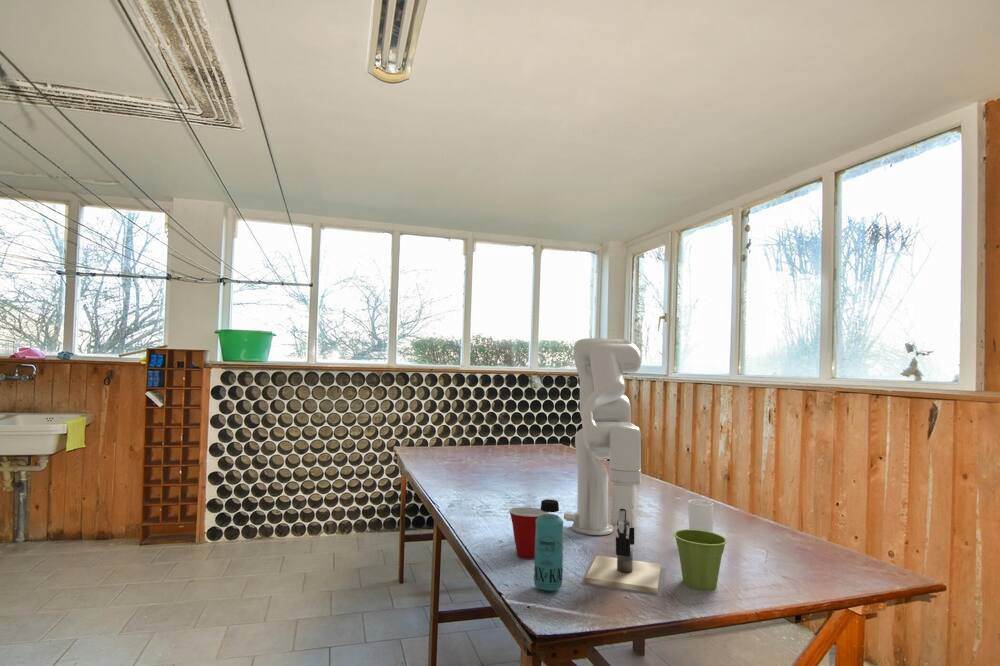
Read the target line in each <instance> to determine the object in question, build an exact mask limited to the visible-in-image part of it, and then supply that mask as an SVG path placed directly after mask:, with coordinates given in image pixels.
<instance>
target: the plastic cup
mask: <svg viewBox="0 0 1000 666" xmlns="http://www.w3.org/2000/svg"><path fill="white" fill-rule="evenodd" d="M508 512H509V514H510V519H511V523H512V531H513V538H514V543H515V550H516V555H517V557H519V558H521V559H525V560H533V559H534V557H535V556H534V555H535V546H534V545H535V535H536V519H537V518H538V517H539V516H540V515H542V514H550V512H544V511H541V508H538V507H537V508H536V507H527V506H523V507H521V506H520V507H512V508H509V509H508ZM534 560H535V559H534Z"/></svg>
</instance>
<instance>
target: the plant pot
mask: <svg viewBox="0 0 1000 666" xmlns="http://www.w3.org/2000/svg"><path fill="white" fill-rule="evenodd" d="M672 535H673V536H674V537H675V540H676V546H677V548H678V555H679V562H680V569H681V576H682V582H683V584H684V585H685V586H687V587H689V588H691V589H695V590H701V591H712V590H715V589H716V588H717V586H718V580H719V574H720V568H721V564H722V558H723V557H722V556H723V553H724V551H725V545H726V544H727V543H728V539H727V538H726V537H725V536H723V535H721V534H718V533H717V532H714V531H713V532H708V531H703V530H694V529H689V528H688V529H687V528H686V529H685V528H684V529H677V530H675V531H674V532H673V534H672Z"/></svg>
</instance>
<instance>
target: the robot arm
mask: <svg viewBox="0 0 1000 666" xmlns="http://www.w3.org/2000/svg"><path fill="white" fill-rule="evenodd" d="M573 361H574V365H575V368H576V370H577V374H578V378H579V415H580V418H581V424H582V428H581V429H579V430H578V431H577V432H576V433H575V437H574V444H575V452H576V460H577V461H576V462H577V494H576V495H577V500H576V502H577V503H576V504H577V507H576V509H577V510H576V512H574V513H571V512H570V513H568V512H564V514H563V520H565V521H567V522H573V523H572V525H571V526H572V530H573V531H575V532H576V533H578V534H583V535H589V536H605V535H610V534H611V533H613V531H614V527H615V526H616V537H615V555H616V556H617V555H620V556H628V557H629V556H630V548H631V545H633V546H634V545H635V527H634V525H635V522H636V517H637V516H636V515H637V486H639V485H642V433H641V429H640V427H639V426H636V425H635V424H634V423H632V405H631V403H630V399H629V397H627V396H626V395H625V393H626V383H625V378H624V373H632V374H633V373H636V372H638V371H639V370H640V368H641V365H642V356H641V351H640V350H639V347H637V345H636V344H635V343H633V342H632V341H630V340H628V339H624V338H602V337H601V338H600V337H599V338H597V337H596V338H595V337H591V338H590V337H589V338H581V339H578V340H577V341H576V342H575V343H574V346H573ZM602 459H603V460H604V459H609V470H607V467H606V466H604V464H603V463H602V462H601V460H602ZM608 471H609V473H608ZM609 483H610V484H612V497H611V523H609Z"/></svg>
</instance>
